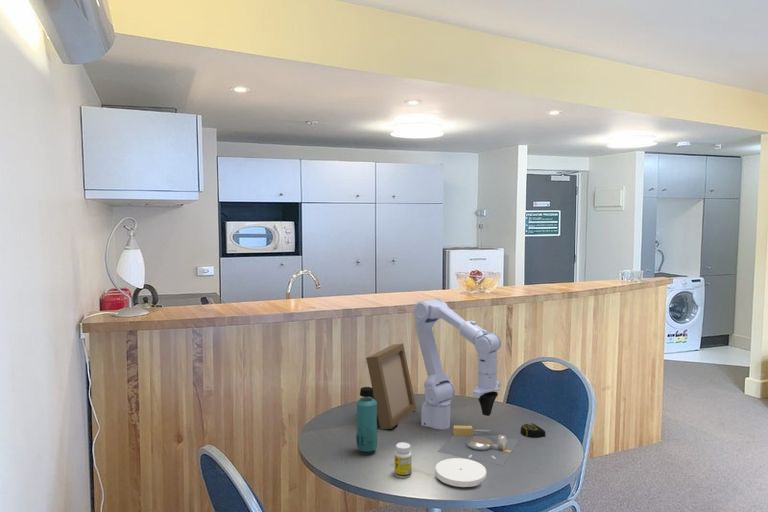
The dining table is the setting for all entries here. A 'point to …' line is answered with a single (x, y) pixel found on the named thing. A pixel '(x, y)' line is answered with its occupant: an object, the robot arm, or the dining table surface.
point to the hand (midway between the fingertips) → (486, 414)
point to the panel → (495, 456)
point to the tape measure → (532, 431)
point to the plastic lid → (460, 472)
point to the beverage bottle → (366, 421)
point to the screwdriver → (466, 430)
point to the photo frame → (391, 385)
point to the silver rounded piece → (486, 443)
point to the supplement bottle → (403, 460)
